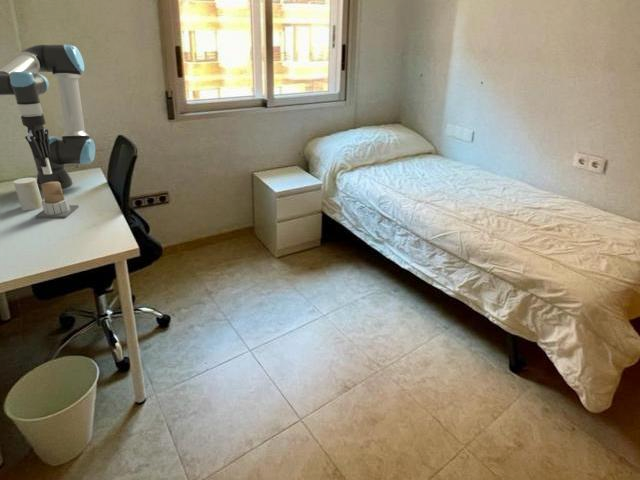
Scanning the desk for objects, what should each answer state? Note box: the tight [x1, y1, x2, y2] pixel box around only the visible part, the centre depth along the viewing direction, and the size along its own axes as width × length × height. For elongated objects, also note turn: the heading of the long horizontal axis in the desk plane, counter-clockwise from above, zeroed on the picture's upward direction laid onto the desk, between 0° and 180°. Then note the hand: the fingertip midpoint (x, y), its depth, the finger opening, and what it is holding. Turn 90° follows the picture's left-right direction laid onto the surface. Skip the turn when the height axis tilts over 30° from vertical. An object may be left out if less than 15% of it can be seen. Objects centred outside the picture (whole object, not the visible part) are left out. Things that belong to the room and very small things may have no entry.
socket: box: [35, 196, 80, 219], centre depth 184 cm, size 12×12×6 cm
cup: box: [13, 177, 43, 211], centre depth 188 cm, size 8×8×12 cm
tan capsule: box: [41, 182, 65, 203], centre depth 182 cm, size 7×7×11 cm
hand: (48, 173), depth 178 cm, fingers closed
